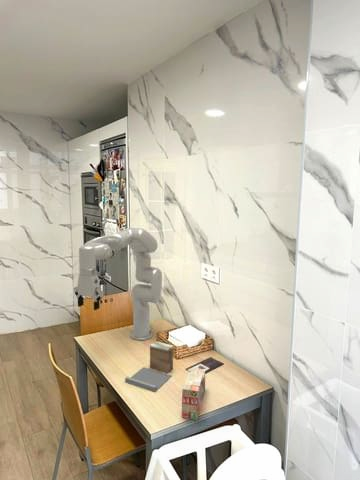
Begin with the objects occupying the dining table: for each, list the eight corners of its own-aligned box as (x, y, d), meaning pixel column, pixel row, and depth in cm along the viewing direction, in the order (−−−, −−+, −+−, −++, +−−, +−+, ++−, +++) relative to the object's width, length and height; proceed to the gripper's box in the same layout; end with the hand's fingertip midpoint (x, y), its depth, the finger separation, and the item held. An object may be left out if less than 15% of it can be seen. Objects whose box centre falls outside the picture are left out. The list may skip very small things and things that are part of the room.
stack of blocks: (191, 387, 153) (191, 361, 151) (205, 389, 151) (206, 363, 150) (181, 418, 132) (182, 388, 130) (197, 420, 131) (198, 390, 129)
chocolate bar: (223, 363, 173) (199, 375, 161) (223, 365, 173) (198, 377, 161) (210, 357, 180) (185, 368, 168) (210, 358, 180) (185, 370, 168)
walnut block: (155, 364, 173) (155, 341, 171) (172, 369, 168) (173, 345, 167) (149, 368, 168) (150, 345, 167) (167, 373, 164) (167, 349, 162)
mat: (143, 367, 169) (143, 363, 169) (172, 376, 162) (172, 372, 161) (125, 382, 156) (125, 378, 155) (155, 392, 148) (155, 387, 148)
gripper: (107, 272, 159) (108, 308, 162) (79, 268, 167) (80, 302, 169) (97, 276, 153) (97, 313, 155) (67, 271, 160) (69, 306, 163)
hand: (88, 307), depth 162 cm, fingers open, 9 cm apart
